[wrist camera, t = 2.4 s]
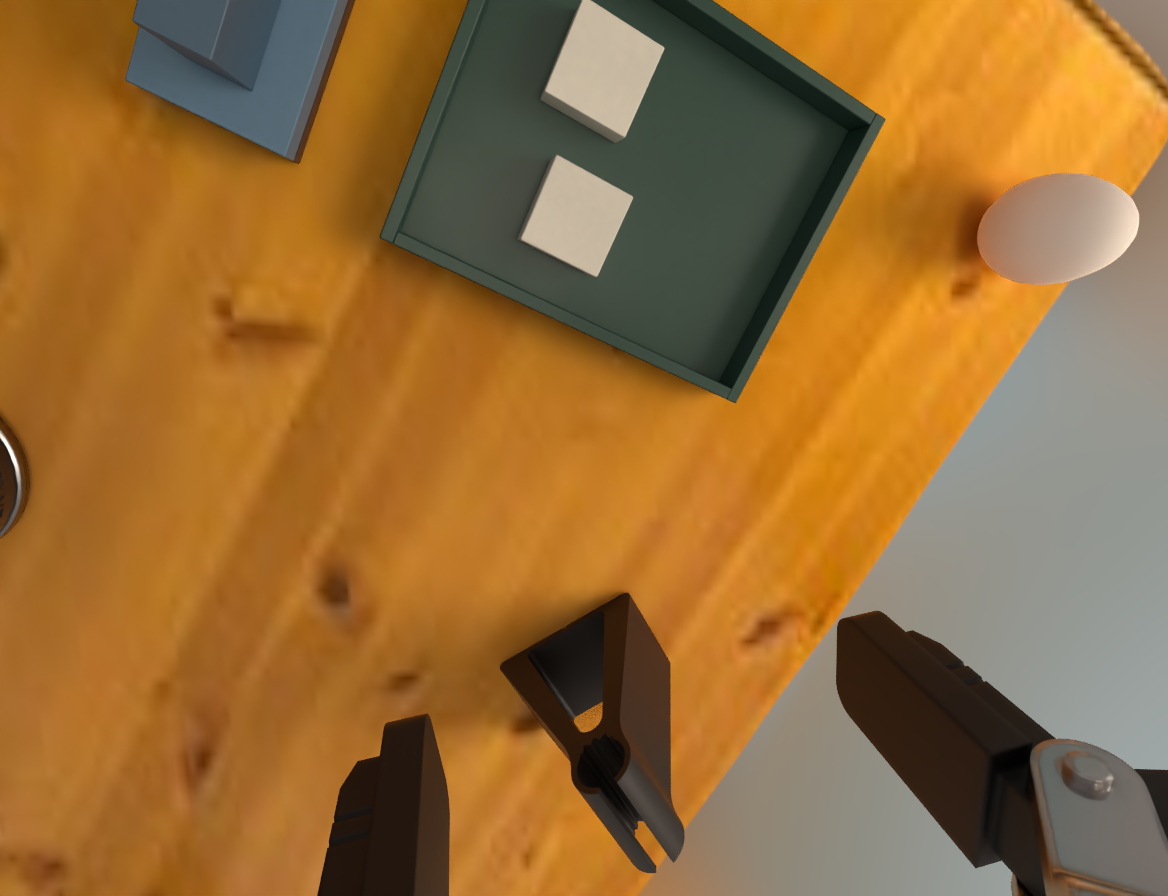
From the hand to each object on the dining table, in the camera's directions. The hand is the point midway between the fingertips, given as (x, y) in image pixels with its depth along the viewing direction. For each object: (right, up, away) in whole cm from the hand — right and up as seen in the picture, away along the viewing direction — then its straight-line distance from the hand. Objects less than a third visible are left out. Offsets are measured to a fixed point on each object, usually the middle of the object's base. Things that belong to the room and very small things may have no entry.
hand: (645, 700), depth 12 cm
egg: (+22, +17, +24) cm, 36 cm away
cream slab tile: (-1, +22, +17) cm, 28 cm away
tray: (+1, +18, +19) cm, 26 cm away
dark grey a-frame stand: (-1, -8, +27) cm, 29 cm away
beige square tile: (-2, +16, +19) cm, 25 cm away
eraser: (-14, +23, +14) cm, 31 cm away
